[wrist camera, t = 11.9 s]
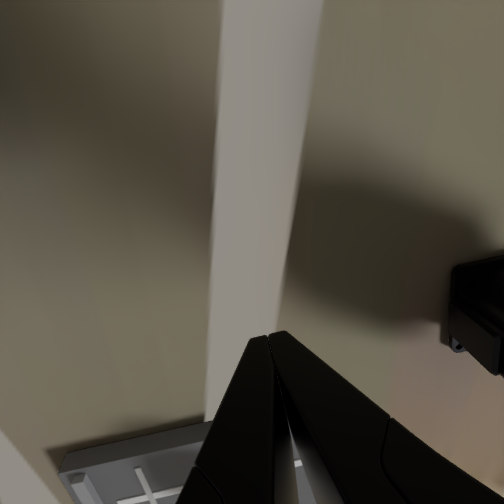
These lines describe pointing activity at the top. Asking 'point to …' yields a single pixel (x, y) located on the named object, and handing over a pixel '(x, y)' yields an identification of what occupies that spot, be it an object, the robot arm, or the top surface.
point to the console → (146, 469)
